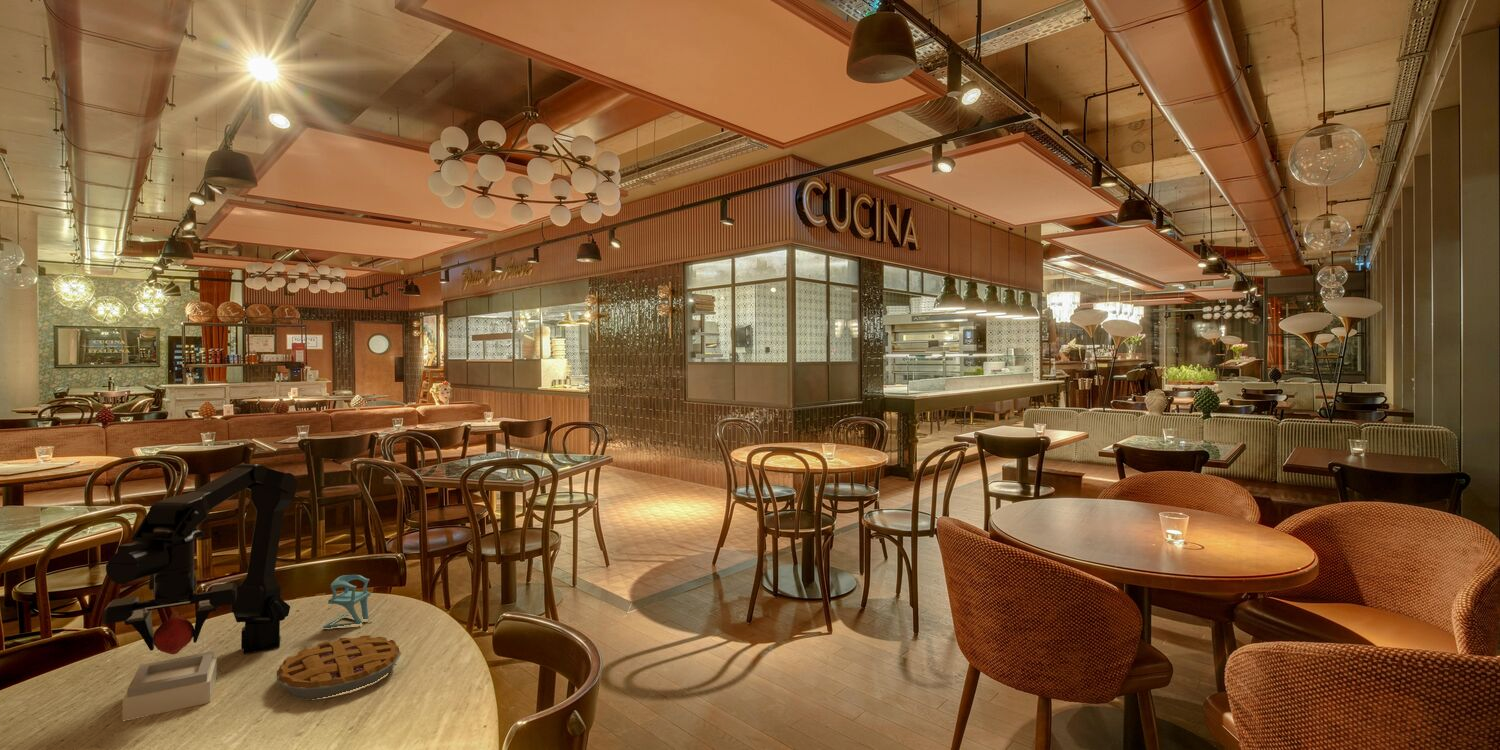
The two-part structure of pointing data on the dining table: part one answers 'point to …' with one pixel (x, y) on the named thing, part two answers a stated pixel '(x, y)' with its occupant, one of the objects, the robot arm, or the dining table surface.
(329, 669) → the pie
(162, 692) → the display pedestal
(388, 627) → the dining table surface
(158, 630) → the onion
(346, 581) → the chair
